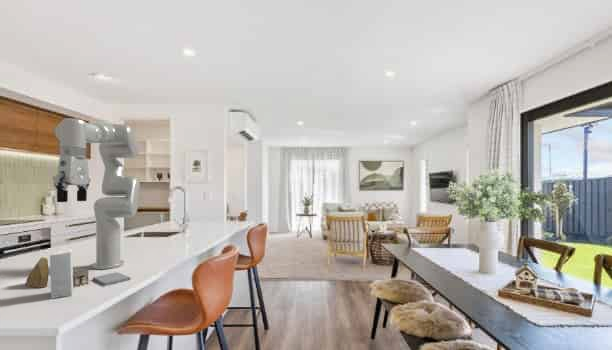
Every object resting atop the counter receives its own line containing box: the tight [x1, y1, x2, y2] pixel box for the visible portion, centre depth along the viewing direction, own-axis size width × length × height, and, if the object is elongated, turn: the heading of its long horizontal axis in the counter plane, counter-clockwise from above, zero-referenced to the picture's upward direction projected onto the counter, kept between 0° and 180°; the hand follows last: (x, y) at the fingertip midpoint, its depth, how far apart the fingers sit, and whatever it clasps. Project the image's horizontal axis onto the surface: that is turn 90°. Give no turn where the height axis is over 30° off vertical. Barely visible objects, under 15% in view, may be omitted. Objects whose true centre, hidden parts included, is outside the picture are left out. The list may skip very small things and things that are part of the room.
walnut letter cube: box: [73, 268, 89, 288], centre depth 121 cm, size 5×5×5 cm
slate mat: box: [92, 271, 131, 287], centre depth 127 cm, size 12×9×1 cm
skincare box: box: [49, 248, 74, 299], centre depth 111 cm, size 8×6×15 cm
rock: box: [24, 257, 49, 288], centre depth 120 cm, size 11×9×10 cm
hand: (72, 201), depth 114 cm, fingers open, 9 cm apart
